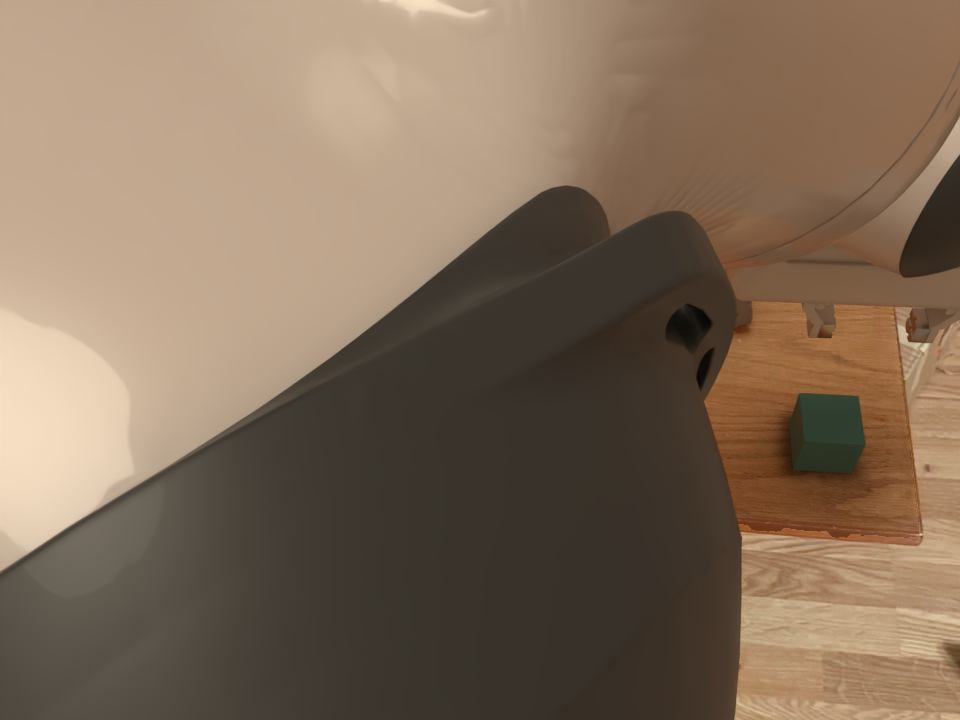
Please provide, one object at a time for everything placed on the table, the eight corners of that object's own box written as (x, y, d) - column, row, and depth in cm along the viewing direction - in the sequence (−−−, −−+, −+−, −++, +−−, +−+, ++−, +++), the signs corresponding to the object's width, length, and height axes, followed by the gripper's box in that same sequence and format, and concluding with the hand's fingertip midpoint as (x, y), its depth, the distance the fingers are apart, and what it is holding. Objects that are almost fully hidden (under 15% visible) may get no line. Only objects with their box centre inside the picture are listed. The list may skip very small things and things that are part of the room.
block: (792, 470, 73) (804, 441, 69) (788, 422, 75) (799, 392, 72) (851, 474, 72) (865, 444, 68) (845, 426, 75) (858, 395, 71)
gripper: (1118, 145, 51) (1021, 303, 62) (743, 139, 54) (714, 291, 65) (1153, 226, 47) (1043, 379, 58) (748, 215, 50) (716, 362, 61)
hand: (867, 333), depth 62 cm, fingers open, 5 cm apart
